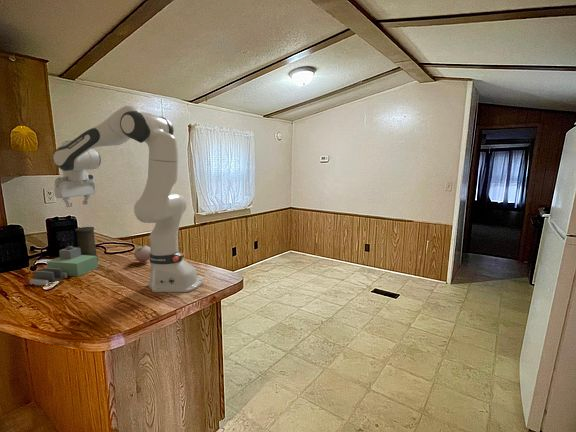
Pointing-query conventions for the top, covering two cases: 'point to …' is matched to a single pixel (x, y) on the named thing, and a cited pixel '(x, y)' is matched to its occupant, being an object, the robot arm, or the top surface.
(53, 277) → the chute
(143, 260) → the decorative fruit
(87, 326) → the top surface
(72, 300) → the top surface
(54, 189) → the robot arm
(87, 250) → the container
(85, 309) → the top surface
